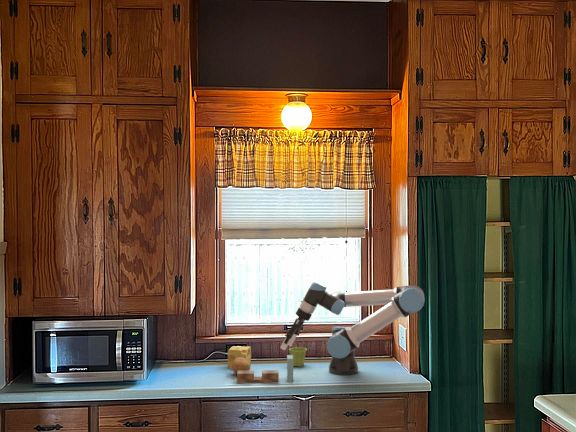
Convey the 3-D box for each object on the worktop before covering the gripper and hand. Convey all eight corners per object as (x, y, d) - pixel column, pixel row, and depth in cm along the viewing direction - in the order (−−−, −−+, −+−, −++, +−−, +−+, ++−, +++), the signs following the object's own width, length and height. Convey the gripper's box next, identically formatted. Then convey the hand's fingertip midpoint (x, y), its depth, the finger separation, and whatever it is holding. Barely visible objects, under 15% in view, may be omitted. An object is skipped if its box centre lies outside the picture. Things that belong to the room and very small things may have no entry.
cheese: (246, 369, 346) (246, 350, 346) (226, 368, 348) (226, 349, 348) (251, 364, 356) (251, 346, 356) (232, 363, 358) (232, 345, 358)
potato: (233, 378, 327) (233, 362, 327) (230, 371, 341) (230, 356, 341) (252, 377, 329) (252, 361, 329) (249, 370, 342) (249, 355, 342)
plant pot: (286, 364, 356) (286, 348, 356) (302, 362, 360) (302, 346, 360) (293, 368, 347) (293, 351, 347) (309, 366, 351) (309, 350, 351)
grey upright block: (287, 377, 329) (287, 355, 329) (292, 377, 329) (292, 355, 329) (287, 381, 321) (287, 358, 321) (293, 381, 321) (293, 358, 321)
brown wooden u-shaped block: (278, 379, 324) (278, 370, 324) (278, 382, 318) (278, 373, 318) (237, 379, 324) (237, 370, 324) (237, 382, 318) (237, 373, 318)
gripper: (304, 304, 343) (285, 339, 344) (293, 308, 318) (273, 346, 320) (316, 311, 341) (297, 347, 342) (307, 316, 317) (286, 354, 318)
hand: (285, 347), depth 331 cm, fingers open, 13 cm apart
